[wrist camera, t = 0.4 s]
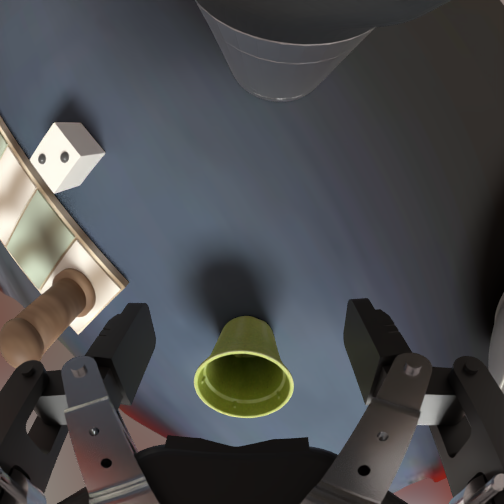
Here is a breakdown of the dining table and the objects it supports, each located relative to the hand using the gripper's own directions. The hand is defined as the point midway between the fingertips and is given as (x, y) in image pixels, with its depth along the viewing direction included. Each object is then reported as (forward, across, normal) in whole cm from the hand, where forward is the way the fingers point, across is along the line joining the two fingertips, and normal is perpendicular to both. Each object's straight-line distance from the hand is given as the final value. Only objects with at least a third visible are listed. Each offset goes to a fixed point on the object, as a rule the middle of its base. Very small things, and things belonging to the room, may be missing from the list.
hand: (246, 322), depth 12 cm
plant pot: (+19, +1, +15) cm, 24 cm away
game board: (+20, +29, -1) cm, 35 cm away
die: (+20, +19, -7) cm, 28 cm away
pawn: (+18, +22, +8) cm, 29 cm away
